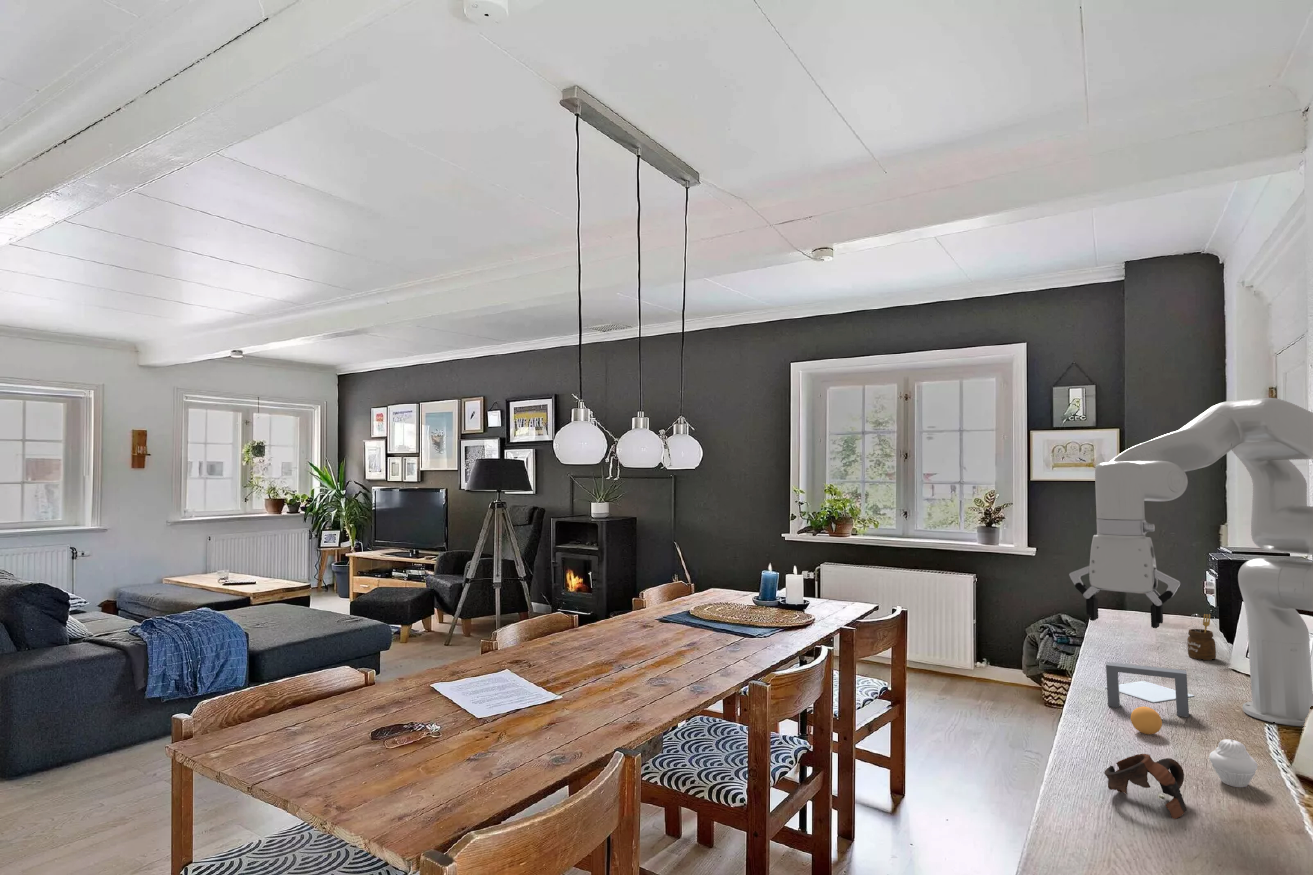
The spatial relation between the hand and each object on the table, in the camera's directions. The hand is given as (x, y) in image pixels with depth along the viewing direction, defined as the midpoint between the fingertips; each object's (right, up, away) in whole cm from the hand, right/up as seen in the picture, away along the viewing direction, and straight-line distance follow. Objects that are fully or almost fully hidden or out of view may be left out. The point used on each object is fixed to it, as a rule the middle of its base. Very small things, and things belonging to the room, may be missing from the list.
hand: (1124, 623), depth 133 cm
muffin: (+8, -22, -15) cm, 28 cm away
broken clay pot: (-9, -23, -21) cm, 32 cm away
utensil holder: (+57, -24, +58) cm, 85 cm away
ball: (+8, -20, +7) cm, 23 cm away
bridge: (+18, -23, +20) cm, 35 cm away
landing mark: (+25, -23, +31) cm, 47 cm away
